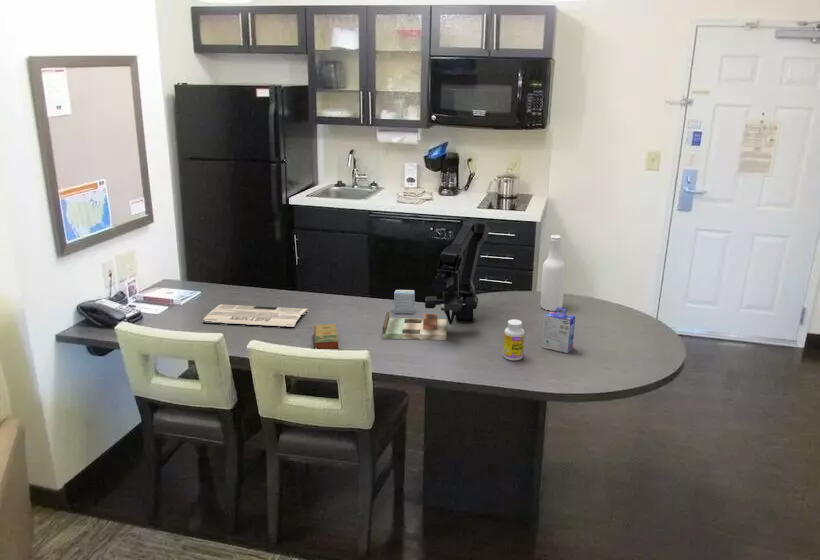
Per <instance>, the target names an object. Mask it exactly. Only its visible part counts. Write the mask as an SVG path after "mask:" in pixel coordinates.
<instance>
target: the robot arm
mask: <svg viewBox="0 0 820 560" xmlns="http://www.w3.org/2000/svg"><path fill="white" fill-rule="evenodd" d="M489 233H490V226H489V225H488V223H487V222H485V221H484V222H482V221H475V220H470V221H469V220H465V221H463V222H462V225H461V228H460V230H459V231H458V233H457V235H456V237H455V239H454V240H453V242H452V244H450V245H448V246H446V247H445V248H444V250H442V252H441V253H440V255H439V258H438V262H437V265H436V266H437V267H436V268H435V269H436V270H435V271H437V272H438V273H436V277H434V278H433V279H432V282H431V287H432V289H433V290H434V291H435V292H436V293H439V294H442V299H437V296H435V295H434V296H433V295H432V296H431V295H429V296H426V297H425V301H424V306H425V307H424V308H425V309H433V310H434V309H435V308H436V306H440V311H443V312H444V314H445V316H446V318H447V322H448V324H449V325H453V322H454V320H456V322H457V323H474V320H475V319H474V310H477V308H478V303H479V297H478V296H477V295H476V288H475V286H474V285H475V284H474V277H475V272H476V268H477V264H478V258H479V254H480V249H481V246H482V245H483V244H484V243H485V242H486V241H487V238H488V235H489ZM465 249H466V254H465V257H464V254H463V253H464V251H465ZM462 265H463V266H462ZM461 267H462V271H461V276H460V270H461Z"/></svg>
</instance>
